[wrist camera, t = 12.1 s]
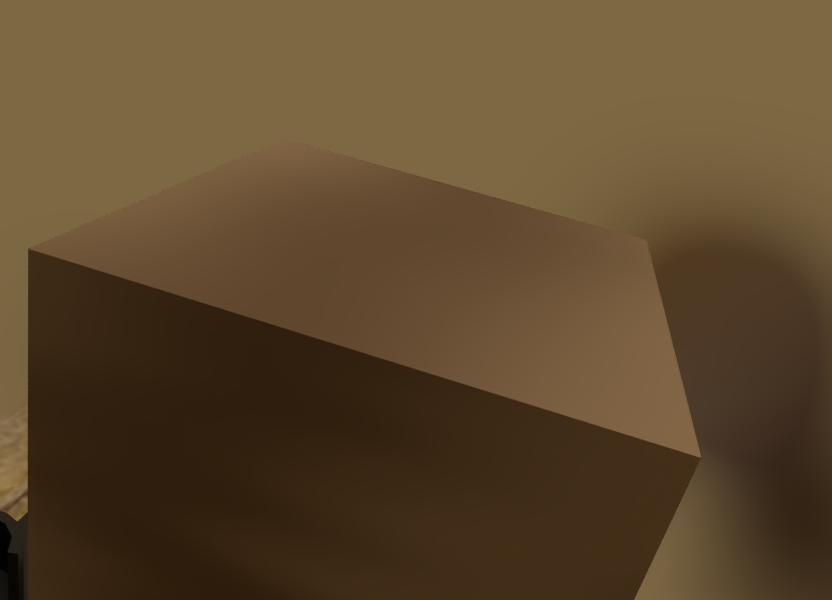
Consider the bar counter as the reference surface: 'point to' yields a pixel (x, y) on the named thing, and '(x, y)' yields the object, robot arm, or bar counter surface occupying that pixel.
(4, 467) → the bar counter surface
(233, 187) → the walnut pillar
